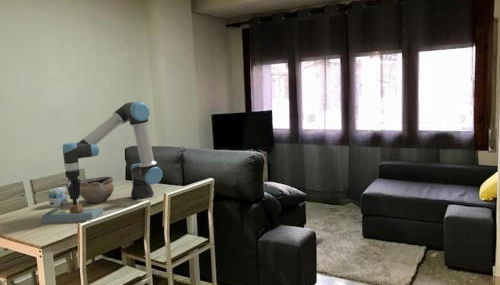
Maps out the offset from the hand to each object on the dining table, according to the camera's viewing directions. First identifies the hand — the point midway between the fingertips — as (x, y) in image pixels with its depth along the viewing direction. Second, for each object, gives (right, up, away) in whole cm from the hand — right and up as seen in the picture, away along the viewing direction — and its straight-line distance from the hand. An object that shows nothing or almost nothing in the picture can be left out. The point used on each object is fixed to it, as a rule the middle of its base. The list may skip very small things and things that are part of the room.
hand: (76, 209), depth 244 cm
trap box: (-1, -5, -1) cm, 5 cm away
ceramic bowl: (-1, 0, +36) cm, 36 cm away
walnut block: (+1, -2, -3) cm, 4 cm away
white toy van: (-25, -2, +32) cm, 41 cm away
